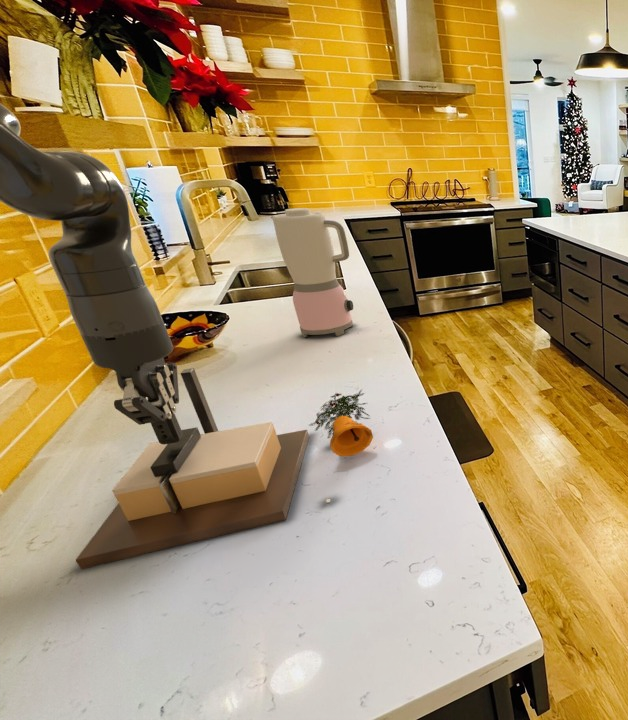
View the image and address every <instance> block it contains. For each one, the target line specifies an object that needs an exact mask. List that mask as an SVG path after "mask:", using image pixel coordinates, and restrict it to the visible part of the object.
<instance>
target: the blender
mask: <svg viewBox="0 0 628 720" xmlns="http://www.w3.org/2000/svg"><path fill="white" fill-rule="evenodd" d="M270 219H272V222H273V227H274V230H275V237H276V241H277V243H278V246H279V250H280V251H279V252H280V255H281V257H282V260H283V262H284V264H285V266H286V268H287V270H288V273H289V275H290V277H291V279H292V281H293V283H294V285H293V286H294V287H293V293H292V304H293V307H294V311H295V314H296V317H297V320H298V324H299V329H300V332H301V335H302V337H303V338H308V335H312V336H317V335H319V336H320V335H327V334H334V335H335V336H336V337H340V336H343V335H345V330H346V329H348V328H352V327H353V326H354V323H353V319H352V315H351V311H353V310H354V303H353V301H352V300H351V299H348V297H347V294H346V291H345V289H344V288H343V286H342V285H341V284H340V283H339V281H338V279H337V273H336V263H338V262H342V261H346V260H348V259H349V257H350V251H349V245H348V240H347V235H346V232H345V228H344V226H343V225H342V224H341V223H340V222H338V221H336V220H328V219H326V217H325V214H324V213H322V212H317V211H315V212H314V211H311V209H310V208H309V207H308V208H307V207H294V208H287V209H284V213H281V214H276V215H271V216H270ZM329 228H333V229H335V230H336V233H337V238H338V242H339V246H340V251H341V253H340V254H335V250H334V246H333V242H332V237H331V234H330V229H329Z"/></svg>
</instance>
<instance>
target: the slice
mask: <svg viewBox="0 0 628 720" xmlns="http://www.w3.org/2000/svg"><path fill="white" fill-rule="evenodd" d="M166 446H167V444H164V445H163V444H160V443H159V441H155V442H150V443H149V444H148V445H147V446H146V447H145V448H144V450H143V452H141V454H140V455H139V456H138V458H137V459H136V460H135V461H134V463H132V465H131V466H130V467H129V468H128V470H127V471H126V472H125V474H124V475H123V476H122V478H121V479H120V480H119V482H117V484H116V485H115V486H114V488H113V489H112V490H111V491H112V493H113V495H114V497H115V499H116V501H117V502H118V503H119V505H120V507H121V508H122V510H123V512H124V514H125V516H126V518H127V520H128V521H131V520H135V519H140V518H144V517H149V516H153V515H158V514H162V513H167V512H171V509H170V507H169V505H168V503H167V501H166V499H165V497H164V495H163V492H162V490H161V488H160V486H159V483H160V481H161V480H162V478H163V477H164V476H165V475H163V476H158V477H154V474H153V472H152V470H151V468H150V467H151V466H152V464H153V463H154V462H155V460H156V459H157V458H158V456H159V455H160V454H161V452H162V451H163V450H164V448H165V447H166ZM118 503H117V504H118Z"/></svg>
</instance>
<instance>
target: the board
mask: <svg viewBox="0 0 628 720" xmlns="http://www.w3.org/2000/svg"><path fill="white" fill-rule="evenodd" d="M180 376H181V379H182V382H183V383H184V386H185V388H186V391H187V393H188V396H189V398H190V401H191V404H192V406H193V409H194V410H195V414H196V416H197V419H198V420H199V423H200V425H201V428H202V430H203V434H206V433H212V432H217V431H219V429H218V427H217V424H216V421H215V418H214V416H213V413H212V411H211V409H210V406H209V404H208V400H207V397H206V395H205V393H204V391H203V387H202V385H201V382H200V380H199V377H198V375H197V372H196V370H195V368H194V367H192V368H184V369H183V370H182V371H181V372H180ZM309 434H310V433H309V432H308V429H303V430H296V431H292V432H286V433H280V434H277V437H278V440H279V443H280V446H281V449H280V452H279V455H278V458H277V461H276V463H275V466H274V469H273V472H272V474H271V477H270V480H269V483H268V485H267V488H266V491H262V492H258V493H253V494H249V495H244V496H240V497H235V498H231V499H226V500H221V501H217V502H212V503H208V504H203V505H199V506H194V507H190V508H185V509H182V507H180V508H179V510H178V512H177V513H176V514H172V512H167V513H162V514H158V515H153V516H149V517H144V518H140V519H135V520H131V521H128V520H127V518H126V516H125V514H124V512H123V510H122V508H121V507H120V505H119V503H117V504H116V506H115V507H114V508H113V510H112V511H110V514H109V515H108V516H107V518H106V519H105V520H104V521H103V523H102V524H101V525H100V527H99V528H98V529H97V531H96V532H95V533H94V535H93V536H92V537H91V538H90V540H89V541H88V543H87V544H86V546H85V547H83V549H82V551H81V552H80V553H79V554H78V556H76V558H75V562H76V564H77V565H78V566H79V569H80V570H83V569H87V568H91V567H96V566H100V565H105V564H107V563H112V562H116V561H120V560H124V559H129V558H132V557H136V556H137V557H138V556H140V555H145V554H149V553H153V552H158V551H161V550H166V549H170V548H174V547H179V546H183V545H187V544H190V543H195V542H199V541H203V540H207V539H211V538H215V537H219V536H224V535H229V534H232V533H237V532H241V531H244V530H248V529H249V530H250V529H253V528H258V527H261V526H265V525H269V524H274V523H278V522H281V521H286V520H287V517H288V513H289V510H290V506H291V503H292V500H293V496H294V492H295V489H296V486H297V485H296V484H297V482H298V477H299V475H300V470H301V467H302V464H303V460H304V456H305V453H306V450H307V446H308V442H309V439H310V435H309Z"/></svg>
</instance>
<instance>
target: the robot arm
mask: <svg viewBox="0 0 628 720" xmlns="http://www.w3.org/2000/svg"><path fill="white" fill-rule="evenodd" d="M21 129H22V127H21V123H20V121H19V119H18V118H17V116H16V115H15V114H14V113H13V112H12V111H11V110H10V109H8V108H7V107H6V106H5V105H3V104H2V103H1V102H0V202H1V203H2V204H4V205H5V206H8V207H9V208H12V210H15V211H16V212H18V213H21V214H24V215H26V216H29V217H31V218H35V219H38V220H42V221H49V222H61V228H62V236H61V237H60V239H59V240H58V241H56V242H55V243H54V244H53V245H51V246H50V248H49V249H48V259H49V262H50V265H51V267H52V270H53V271H54V273H55V276H56V279H57V280H58V282H59V284H60V286H61V288H62V291H63V293H64V295H65V297H66V300H67V303H68V308H69V311H70V314H71V317H72V319H73V321H74V323H75V326H76V327H77V329H78V332H79V334H80V336H81V338H82V341H83V342H84V345H85V347H86V349H87V351H88V353H89V355H90V358H91V360H92V362H93V364H94V365H95V366H96V367H99V368H102V369H109V370H112V371H114V372H115V375H116V381H117V385H118V387H119V389H120V390H121V392H123V397H122V398H121V399H115V400H114V402H113V406H114V408H115V410H117V411H118V412H120V413H121V414H122V415H124V416H126V417H127V418H129V420H131V421H133V422H134V423H136V424H137V425H140V426H142V425H145V424H150V425H151V427H152V429H153V432H154V435H155V437H156V439H157V442H159V443H160V444H163V445H164V444H170V443H176V442H178V441H179V440H180V439H181V437H182V436H183V433H182V430H183V429H182V428H181V426H180V424H179V421H178V418H177V416H176V413H177V407H176V405H177V404H179V403H180V394H179V393H180V392H179V378H178V366H177V364H176V362H170V363H166V362H165V358H166V357H167V356H169V355H171V353H173V350H174V344H173V342H172V340H171V337H170V335H169V332H168V330H167V327H166V324H165V322H164V320H163V317H162V315H161V312H160V309H159V307H158V304H157V302H156V300H155V297H154V296H153V294H152V293H151V291H150V289H149V288H148V286H147V283H146V281H145V278H144V277H143V274H142V273H143V272H142V271H141V268H140V266H139V264H138V261H137V258H136V256H135V254H134V252H133V247H132V226H131V217H130V209H129V201H128V199H127V193H126V192H125V189H124V187H123V185H122V183H121V181H120V180H119V178H118V177H117V175H116V174H115V173H114V171H113V170H112V169H111V168H110V167H109V166H108V165H107V164H105V163H104V162H103V161H101V160H99V159H98V158H96V157H94V156H92V155H90V154H87V153H84V152H79V151H68V150H67V151H65V150H64V151H41V150H40V149H37V148H36V147H34V146H33V145H31V144H29V143H28V142H26V140H24V139H23V138H21V136H20V135H21Z"/></svg>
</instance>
